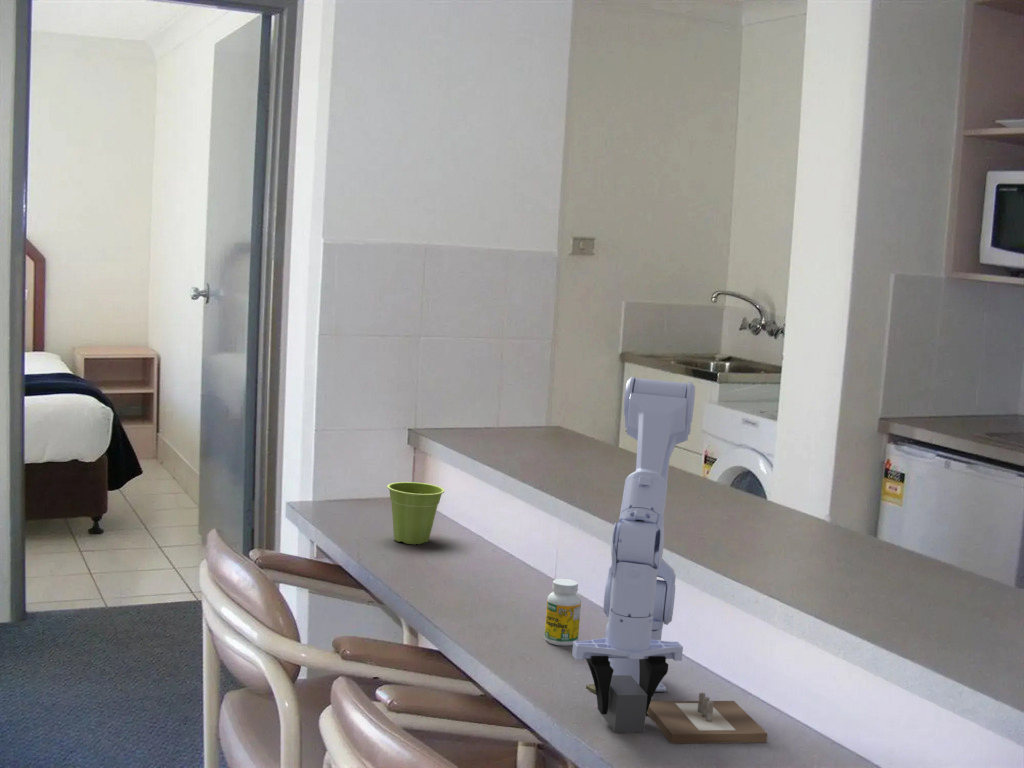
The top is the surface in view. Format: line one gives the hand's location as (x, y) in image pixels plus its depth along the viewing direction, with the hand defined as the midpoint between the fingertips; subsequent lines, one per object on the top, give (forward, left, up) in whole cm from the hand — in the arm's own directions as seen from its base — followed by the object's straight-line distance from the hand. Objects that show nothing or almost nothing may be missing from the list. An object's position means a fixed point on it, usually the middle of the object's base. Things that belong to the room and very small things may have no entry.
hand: (622, 711), depth 153 cm
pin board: (+2, +11, -1) cm, 11 cm away
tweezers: (-7, +2, -2) cm, 7 cm away
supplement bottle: (-32, 0, -2) cm, 32 cm away
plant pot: (-94, -16, -2) cm, 95 cm away
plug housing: (0, 0, -1) cm, 1 cm away
